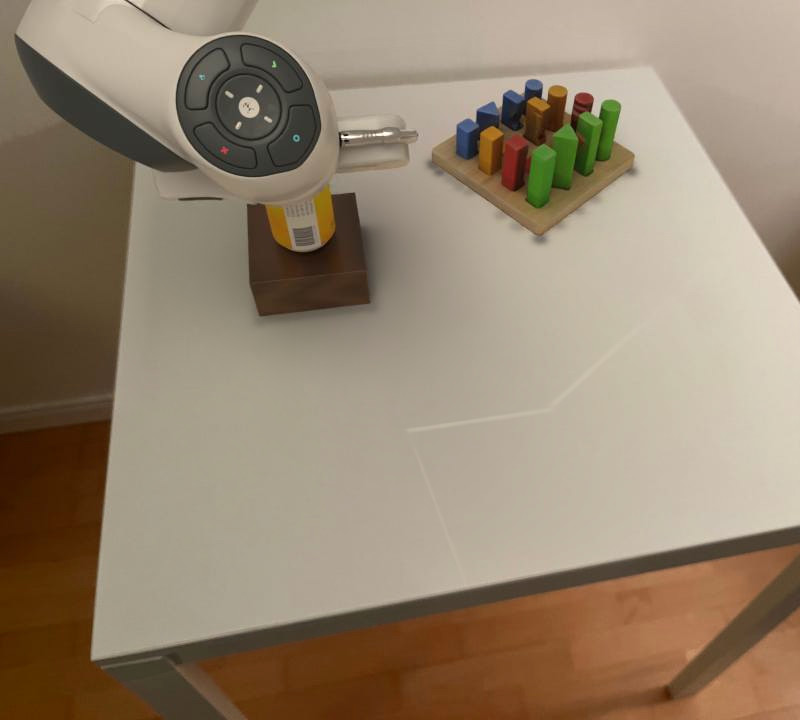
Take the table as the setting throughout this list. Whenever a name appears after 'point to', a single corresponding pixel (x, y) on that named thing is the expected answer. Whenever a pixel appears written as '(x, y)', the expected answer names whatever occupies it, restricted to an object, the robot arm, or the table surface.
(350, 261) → the walnut block
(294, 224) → the orange beverage can
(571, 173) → the peg board
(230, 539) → the table surface
